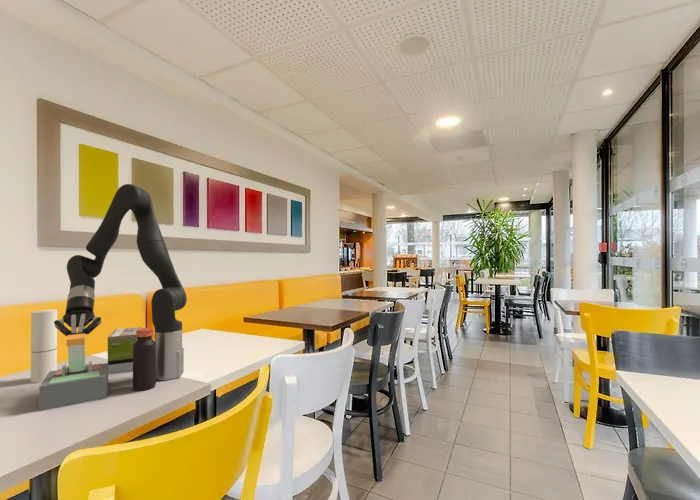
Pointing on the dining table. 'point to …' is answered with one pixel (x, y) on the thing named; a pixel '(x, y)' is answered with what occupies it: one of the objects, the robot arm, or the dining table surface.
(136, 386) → the bottle
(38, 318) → the cylindrical container
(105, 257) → the robot arm
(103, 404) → the dining table surface
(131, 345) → the tea box
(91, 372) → the switch box
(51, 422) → the dining table surface
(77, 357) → the lever
